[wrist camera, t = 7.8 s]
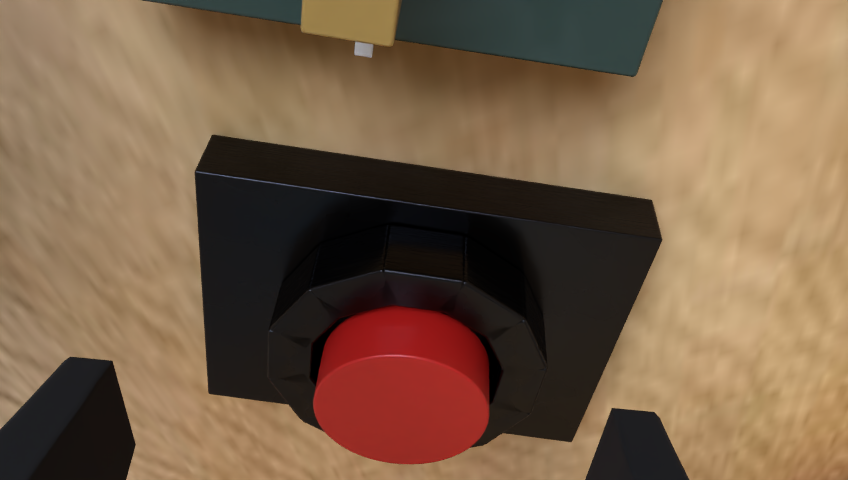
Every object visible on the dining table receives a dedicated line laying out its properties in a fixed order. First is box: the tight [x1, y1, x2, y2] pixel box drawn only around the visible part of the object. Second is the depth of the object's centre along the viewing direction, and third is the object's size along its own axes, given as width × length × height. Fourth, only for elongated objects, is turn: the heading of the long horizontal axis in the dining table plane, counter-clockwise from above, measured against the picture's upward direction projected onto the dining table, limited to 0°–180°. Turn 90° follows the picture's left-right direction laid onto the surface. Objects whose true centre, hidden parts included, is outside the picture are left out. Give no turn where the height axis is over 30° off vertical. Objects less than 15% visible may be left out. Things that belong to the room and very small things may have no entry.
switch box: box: [195, 135, 662, 448], centre depth 23 cm, size 12×9×4 cm
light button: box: [313, 305, 489, 464], centre depth 21 cm, size 5×5×2 cm
